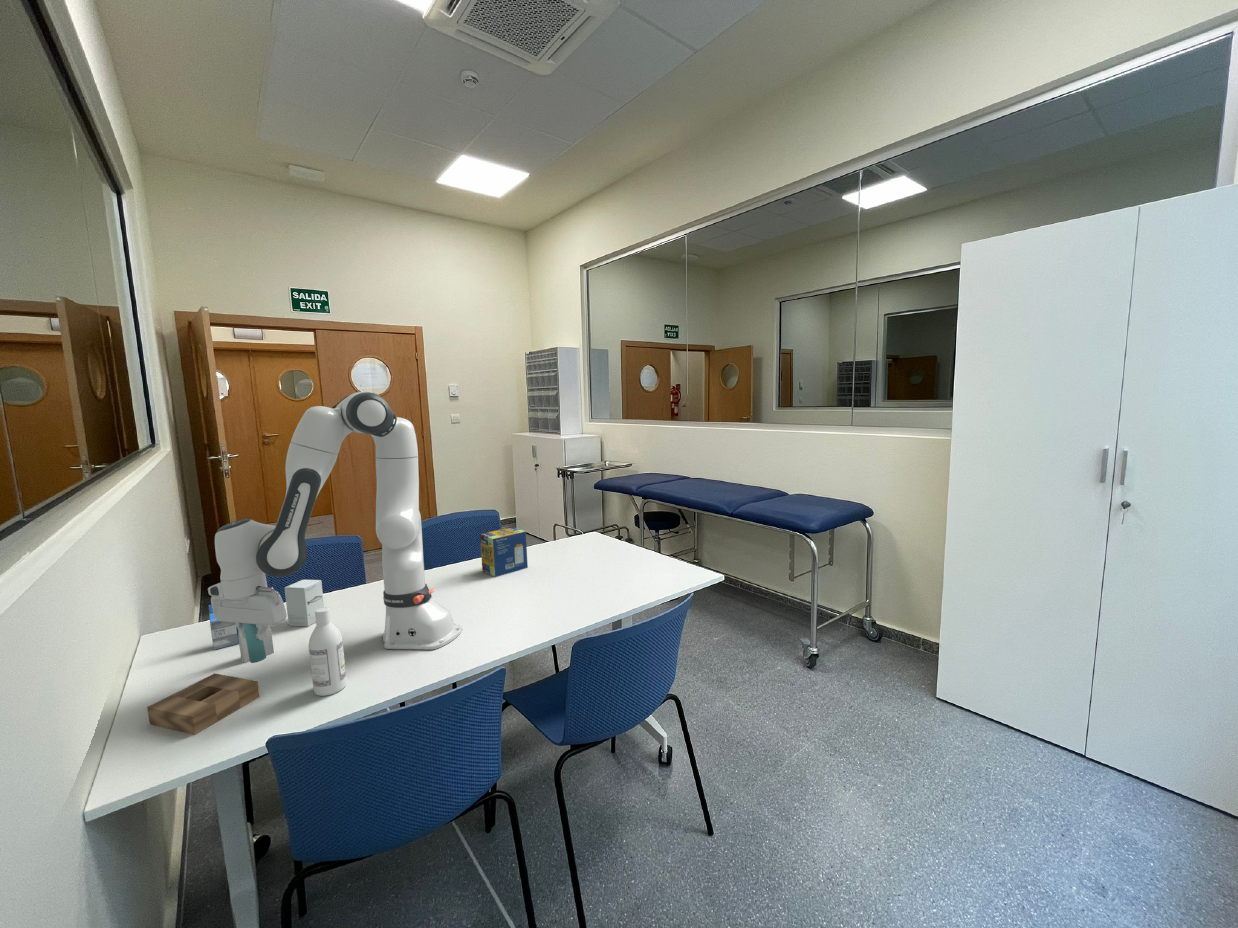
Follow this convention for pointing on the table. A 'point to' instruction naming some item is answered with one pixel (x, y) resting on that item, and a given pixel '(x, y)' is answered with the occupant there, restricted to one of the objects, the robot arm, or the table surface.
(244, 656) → the white carton
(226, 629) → the label tape box
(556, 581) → the table surface
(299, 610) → the supplement box
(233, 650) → the table surface
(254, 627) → the peg
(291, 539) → the robot arm
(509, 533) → the protein box
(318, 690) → the bath foam
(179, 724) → the socket block
